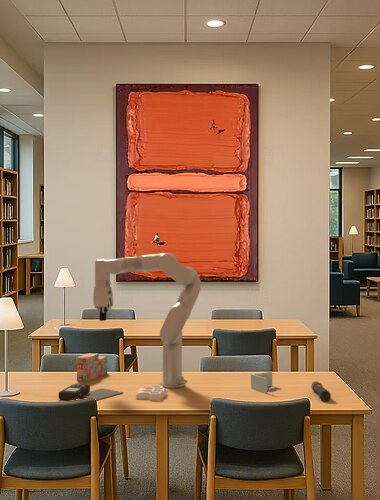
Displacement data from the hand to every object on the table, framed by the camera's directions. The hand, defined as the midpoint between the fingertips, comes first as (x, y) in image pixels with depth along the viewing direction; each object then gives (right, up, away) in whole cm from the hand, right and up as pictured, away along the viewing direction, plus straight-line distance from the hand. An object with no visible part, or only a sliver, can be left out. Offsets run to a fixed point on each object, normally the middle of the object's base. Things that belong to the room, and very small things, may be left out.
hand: (103, 320), depth 373 cm
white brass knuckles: (+26, -34, -24) cm, 49 cm away
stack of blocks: (-8, -32, +18) cm, 38 cm away
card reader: (-8, -30, -19) cm, 36 cm away
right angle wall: (+82, -33, -13) cm, 89 cm away
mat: (+1, -33, -22) cm, 40 cm away
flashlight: (+104, -33, -26) cm, 113 cm away
